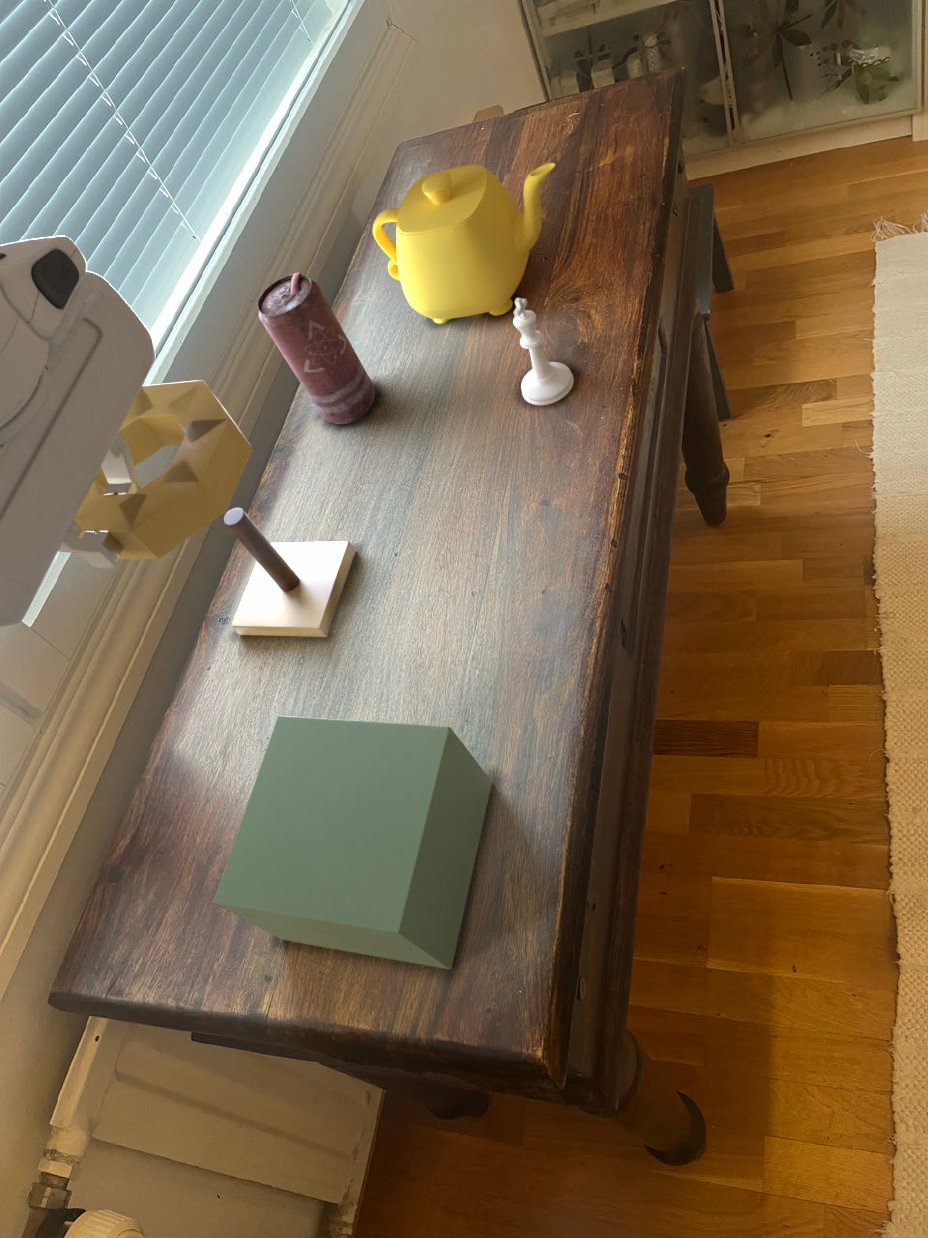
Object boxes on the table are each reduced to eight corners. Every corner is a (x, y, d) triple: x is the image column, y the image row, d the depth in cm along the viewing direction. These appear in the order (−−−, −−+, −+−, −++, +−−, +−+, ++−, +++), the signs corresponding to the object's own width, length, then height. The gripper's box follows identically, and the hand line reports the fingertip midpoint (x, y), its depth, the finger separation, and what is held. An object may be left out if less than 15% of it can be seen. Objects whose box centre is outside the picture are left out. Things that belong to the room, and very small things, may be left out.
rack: (327, 637, 78) (262, 562, 70) (239, 635, 82) (167, 563, 73) (356, 550, 83) (299, 469, 74) (271, 552, 86) (207, 475, 78)
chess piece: (582, 369, 86) (555, 280, 78) (560, 408, 84) (531, 322, 76) (535, 364, 88) (505, 278, 80) (513, 402, 86) (480, 318, 78)
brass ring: (206, 559, 54) (178, 531, 52) (54, 559, 58) (23, 533, 56) (270, 406, 59) (248, 375, 57) (127, 418, 64) (101, 389, 62)
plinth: (451, 970, 60) (398, 933, 53) (281, 940, 65) (212, 902, 58) (492, 781, 66) (450, 726, 59) (334, 767, 71) (277, 715, 64)
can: (383, 376, 95) (322, 263, 84) (369, 423, 91) (304, 311, 80) (331, 384, 97) (265, 274, 86) (315, 429, 94) (245, 321, 83)
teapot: (417, 259, 104) (371, 154, 94) (592, 229, 96) (562, 112, 86) (389, 346, 97) (336, 243, 87) (575, 321, 90) (541, 204, 80)
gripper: (-115, 535, 39) (96, 685, 50) (83, 215, 48) (223, 400, 59) (-212, 537, 41) (10, 680, 52) (-5, 232, 51) (146, 407, 62)
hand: (124, 529), depth 56 cm, fingers closed on brass ring, 3 cm apart
